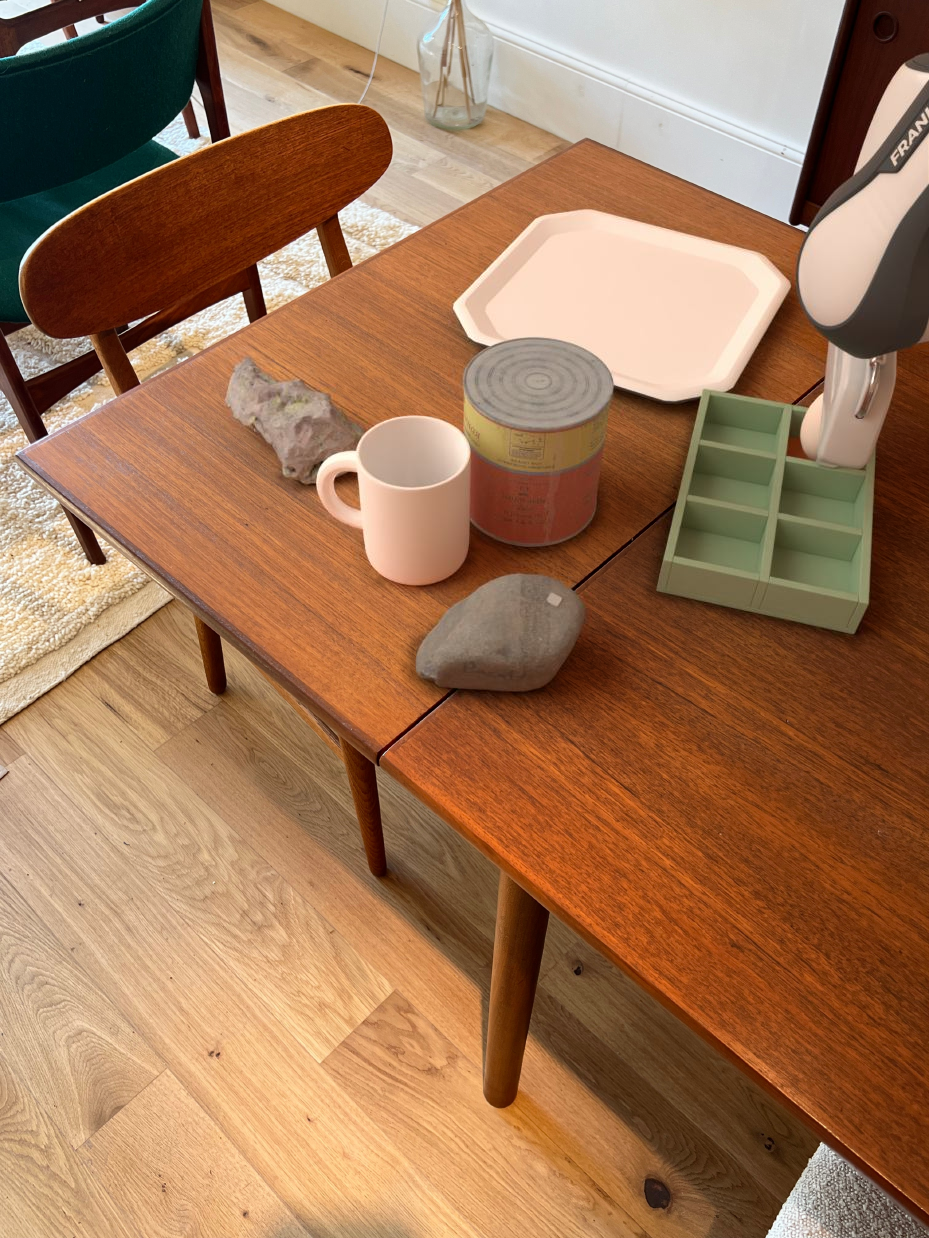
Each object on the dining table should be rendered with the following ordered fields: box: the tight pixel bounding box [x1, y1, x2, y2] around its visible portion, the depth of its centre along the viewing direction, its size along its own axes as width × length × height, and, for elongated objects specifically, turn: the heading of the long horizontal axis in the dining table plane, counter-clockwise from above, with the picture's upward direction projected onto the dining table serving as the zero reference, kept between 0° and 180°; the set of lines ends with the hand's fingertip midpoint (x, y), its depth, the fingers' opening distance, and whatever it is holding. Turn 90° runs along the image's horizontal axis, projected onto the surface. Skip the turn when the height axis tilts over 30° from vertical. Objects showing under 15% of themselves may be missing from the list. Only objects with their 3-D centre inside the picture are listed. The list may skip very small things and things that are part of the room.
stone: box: [415, 572, 586, 692], centre depth 70 cm, size 9×9×10 cm
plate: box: [452, 208, 792, 405], centre depth 101 cm, size 29×29×2 cm
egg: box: [800, 391, 824, 461], centre depth 82 cm, size 5×5×7 cm
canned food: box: [462, 337, 615, 548], centre depth 79 cm, size 11×11×12 cm
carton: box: [655, 389, 877, 635], centre depth 81 cm, size 15×22×4 cm
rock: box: [224, 355, 367, 485], centre depth 85 cm, size 16×7×7 cm, turn 49°
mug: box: [315, 415, 471, 586], centre depth 76 cm, size 12×8×10 cm
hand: (828, 438), depth 83 cm, fingers closed on egg, 5 cm apart
